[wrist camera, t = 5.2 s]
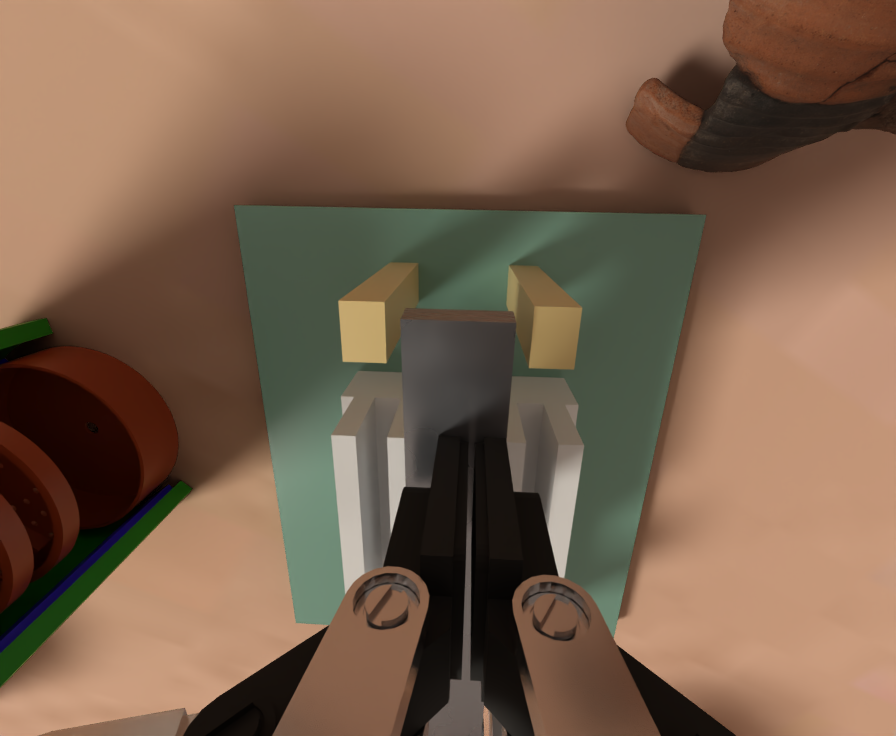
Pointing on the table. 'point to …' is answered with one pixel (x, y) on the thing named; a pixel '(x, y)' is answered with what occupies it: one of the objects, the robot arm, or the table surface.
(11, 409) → the motor
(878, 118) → the pottery mug
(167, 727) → the robot arm
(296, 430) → the board
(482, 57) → the table surface
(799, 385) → the table surface
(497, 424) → the strap
